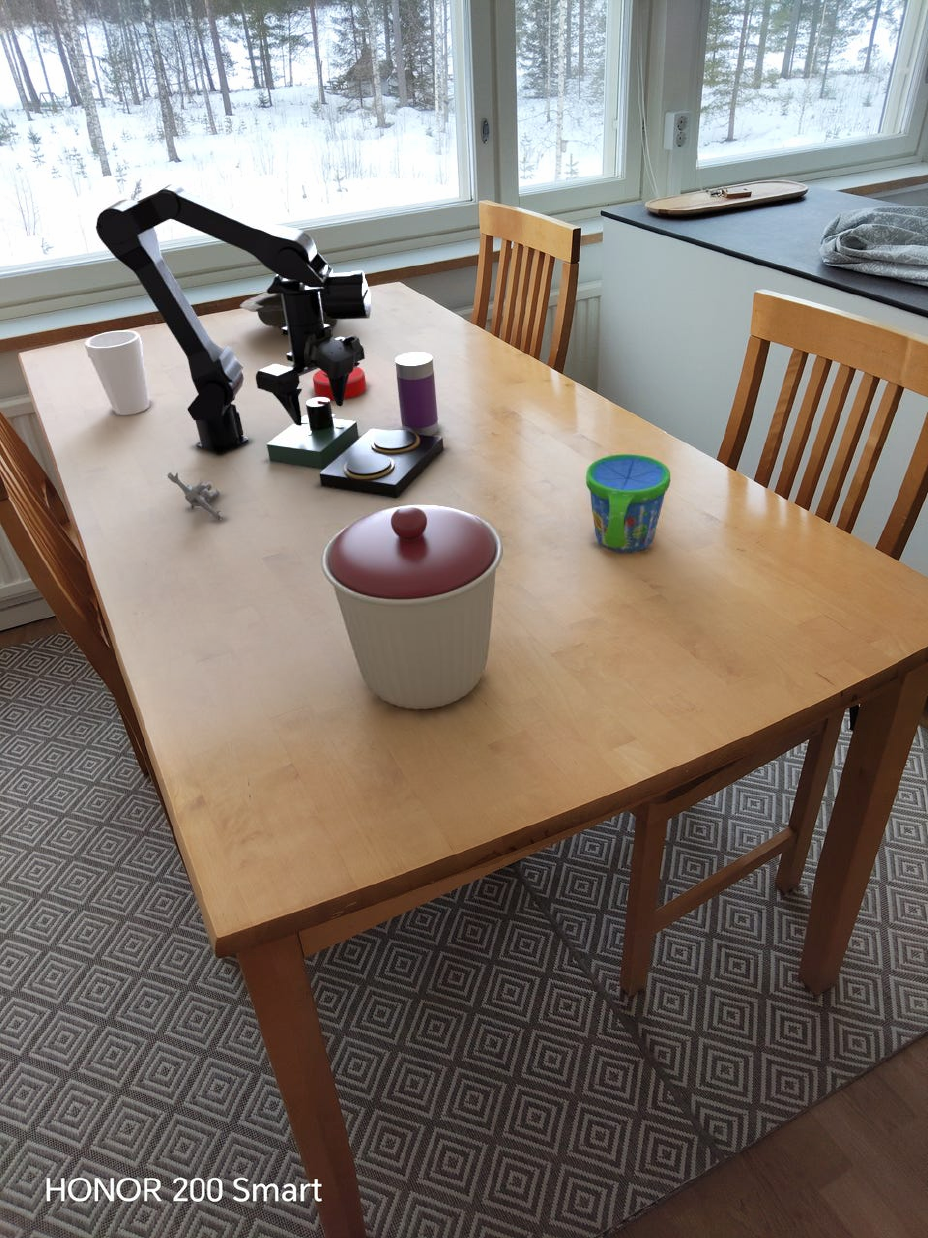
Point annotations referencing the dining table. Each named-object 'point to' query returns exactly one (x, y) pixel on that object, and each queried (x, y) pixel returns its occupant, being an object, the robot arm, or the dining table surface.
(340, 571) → the canister
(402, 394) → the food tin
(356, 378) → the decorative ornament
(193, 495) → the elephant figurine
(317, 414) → the hob knob
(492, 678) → the dining table surface
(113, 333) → the foam cup
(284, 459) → the control box
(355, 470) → the hob
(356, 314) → the robot arm
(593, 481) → the snack cup
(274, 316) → the stone bowl
